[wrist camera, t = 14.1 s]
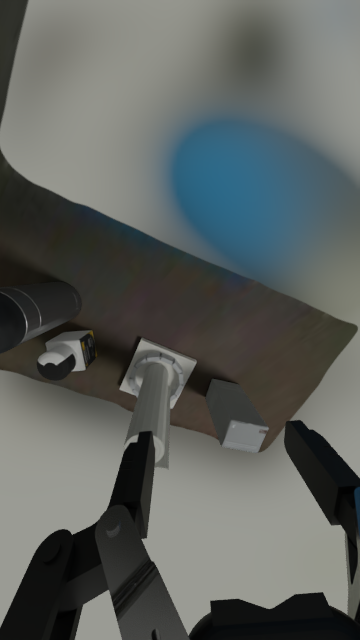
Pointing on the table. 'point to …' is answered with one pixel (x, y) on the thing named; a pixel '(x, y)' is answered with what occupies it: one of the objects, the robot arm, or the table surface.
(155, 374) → the paper towel roll
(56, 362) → the medicine bottle
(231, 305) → the table surface
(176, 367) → the collar socket
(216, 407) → the skincare box
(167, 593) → the robot arm
